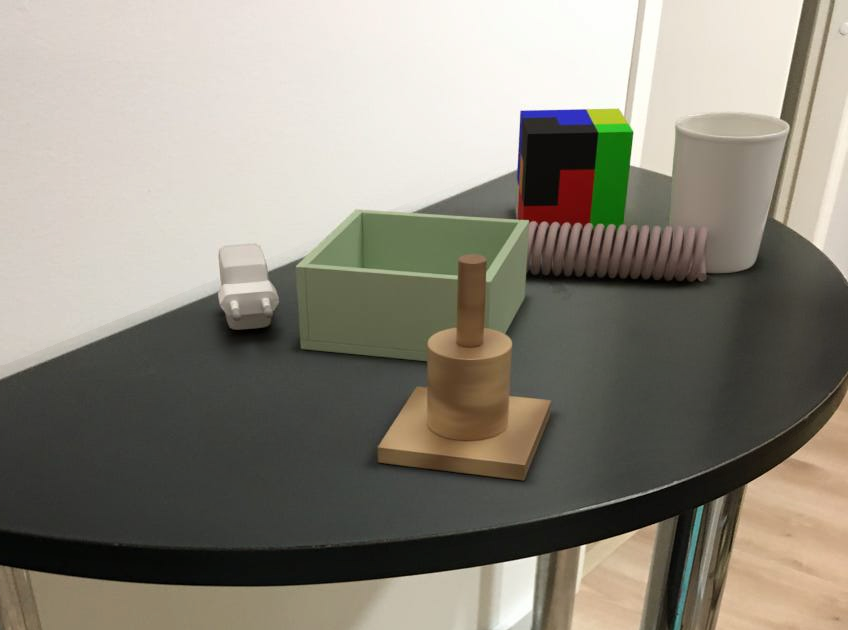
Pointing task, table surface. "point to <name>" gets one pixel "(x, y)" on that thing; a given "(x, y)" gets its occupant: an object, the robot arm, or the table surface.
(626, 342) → the table surface
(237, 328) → the power adapter
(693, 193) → the white cup
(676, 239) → the coil
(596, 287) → the table surface
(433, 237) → the bin
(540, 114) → the puzzle toy
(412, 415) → the stand
